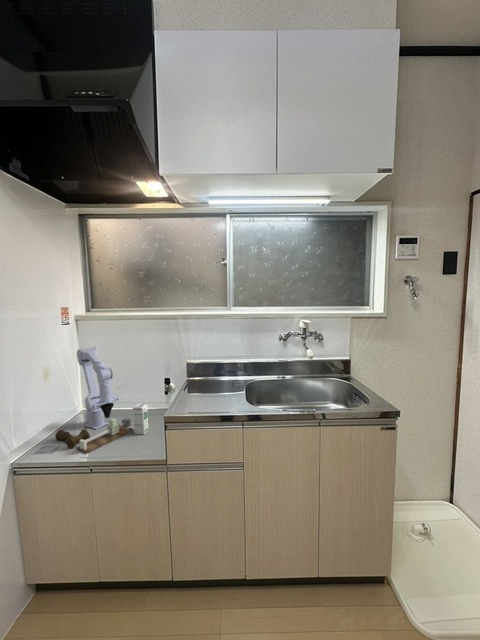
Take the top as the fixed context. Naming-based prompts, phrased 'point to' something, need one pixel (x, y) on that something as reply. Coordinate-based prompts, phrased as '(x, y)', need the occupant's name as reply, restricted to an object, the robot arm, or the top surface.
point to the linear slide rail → (125, 424)
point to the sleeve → (113, 426)
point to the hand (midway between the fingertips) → (107, 417)
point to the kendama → (72, 437)
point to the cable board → (104, 440)
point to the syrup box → (141, 418)
